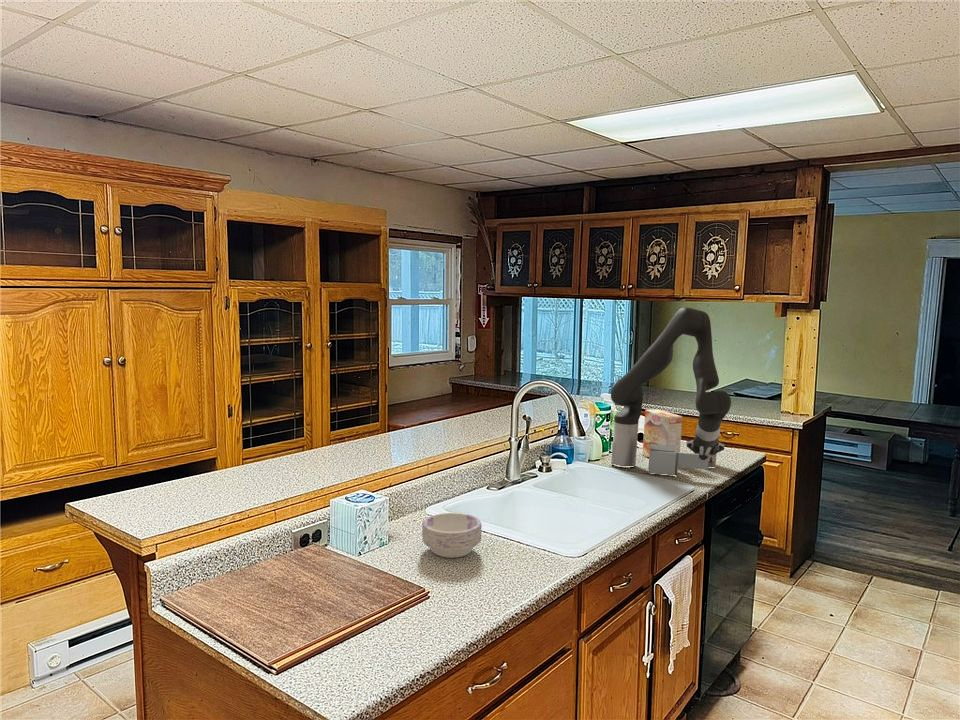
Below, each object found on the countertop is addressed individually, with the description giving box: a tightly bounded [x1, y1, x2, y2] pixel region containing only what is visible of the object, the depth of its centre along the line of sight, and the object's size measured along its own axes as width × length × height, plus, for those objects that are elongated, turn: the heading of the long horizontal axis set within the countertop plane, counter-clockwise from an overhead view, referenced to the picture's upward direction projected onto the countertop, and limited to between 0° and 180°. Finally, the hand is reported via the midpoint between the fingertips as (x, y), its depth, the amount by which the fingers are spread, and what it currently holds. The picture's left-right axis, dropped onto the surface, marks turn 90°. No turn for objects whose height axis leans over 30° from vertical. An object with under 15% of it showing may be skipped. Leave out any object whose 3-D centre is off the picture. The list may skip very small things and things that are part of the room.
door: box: [648, 450, 709, 477], centre depth 246 cm, size 21×1×9 cm, turn 75°
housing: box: [648, 444, 675, 466], centre depth 253 cm, size 9×9×10 cm
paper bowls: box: [421, 512, 483, 559], centre depth 172 cm, size 15×15×8 cm
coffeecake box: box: [642, 408, 683, 457], centre depth 271 cm, size 15×7×20 cm, turn 25°
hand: (702, 457), depth 236 cm, fingers closed
